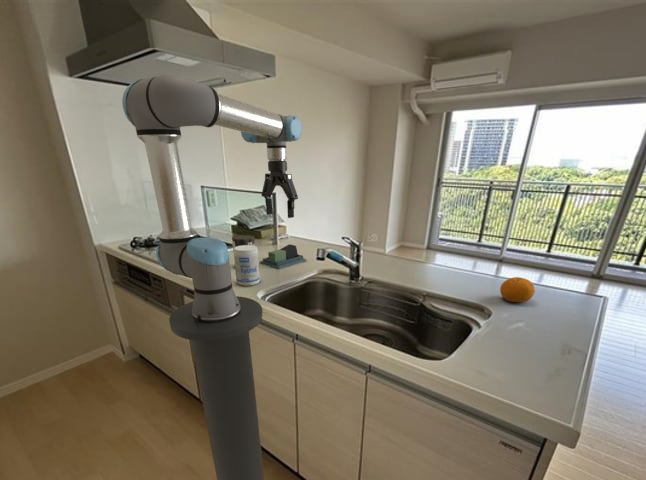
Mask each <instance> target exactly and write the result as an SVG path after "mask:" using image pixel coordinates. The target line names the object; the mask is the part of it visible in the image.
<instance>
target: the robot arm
mask: <svg viewBox="0 0 646 480" xmlns="http://www.w3.org/2000/svg"><path fill="white" fill-rule="evenodd" d="M121 104H122V109H123V112H124V115H125V117H126V119H127V120H128V121H129V122H130V123H131V125H132V126H133V127H135V128H134V129H135V132H136V136H137V138H138V139H139V140H140V141H142V142H143V144H144V147H145V151H146V156H147V160H148V165H149V170H150V175H151V179H152V185H153V189H154V195H155V198H156V203H157V209H158V212H159V217H160V222H161V227H162V231H161V232H160V233H159V235H158V239H159V242H158V245H157V246H156V249H155V253H156V254H155V256H156V259H157V261H158V263H159V265H160V266H161V267H162V268H163V269H164V270H165V271H167V272H169V273H171V274H174V275H175V276H182V277H185V278H187V279H188V278H189V279H191V280H192V285H193V291H194V296H193V301H192V302H193V306H192V315H193V318H194V319H195V322H196V323H197V322H198V321H200V322H206V323H214V322H222V321H226V320H229V319H232V318H234V317H236V316H237V315H238V314H239V313H240V312H241V307H240V303H239V301H238V299H237V297H236V296H237V294H236V293H235V291H234V288H233V280H232V271H231V262H230V254H229V250H228V246H227V244H226V243H225V241H223V240H221V239H218V238H214V237H199V234H198V231H197V230H195V229H194V228H193V227H192V221H191V217H190V216H191V215H190V211H189V210H190V209H189V205H188V204H189V203H188V199H187V192H186V187H185V182H184V175H183V169H182V164H181V159H180V152H179V147H178V146H179V145H178V142H179V141H180V140H181V139H182V132H181V128H182V127H183V128H184V127H195V126H196V127H205V128H212V127H214V126H218V127H222V128H225V129H230V130H234V131H238V132H240V134H241V137H242V139H243V140H244V141H245V142H246V143H251V144H266V156H267V160H268V161H267V169H268V172H269V173H267V172H266V173H265V174H264V182H263V186H262V191H261V197H263V198H264V201H265V207H266V209H265V210H266V215H267V216H268V215H273V214H274V213H273V198H272V195H273V193H274V191H275V189H276V187H280V188H281V189H282V190H283V193H284V194H285V196H286V198H287V200H286V205H287V208H286V209H287V219H291V218H295V201H296V200H298V199H299V195H298V192H297V190H296V187H295V184H294V181H293V174H292V173H287V171H288V161H287V160H288V159H287V158H288V157H287V142H289V143H291V142H296V141H298V140H299V139H300V138H301V136H302V131H303V125H302V121H301V120H300V118H299V117H298V116H297V115H290V114H289V115H282V114H279V113H276V112H272V111H270V110H267V109H264V108H261V107H258V106H255V105H252V104H249V103H247V102H243V101H241V100H238V99H235V98H232V97H230V96H226V95H223V94H220V93H218V91H217V90H216V89H215V88H214V87H213V86H210V85H208V84H204V83H201V82H199V81H196V80H193V79H191V78H187V77H184V76H181V75H177V74H172V73H163V74H159V75H156V76H155V75H154V76H151V77H146V78H140V79H137V80H135V81H134V82H132V83H130V84H129V85H128V86H127V87H126V88H125V89H124V91H123V95H122V103H121Z"/></svg>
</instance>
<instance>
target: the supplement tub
mask: <svg viewBox="0 0 646 480" xmlns="http://www.w3.org/2000/svg"><path fill="white" fill-rule="evenodd" d="M258 251H259V249H258V247H257V246H256V245H255V246H253V245H242V246H237V247H235V248H234V251H233V259H235V260H234V270H235V279H236V284H238V285H240V286H245V287H246V286H248V287H249V286H254V285H257V284H259V282H260V280H261V278H260V276H261V275H260V263H259V252H258Z"/></svg>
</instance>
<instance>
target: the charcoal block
mask: <svg viewBox="0 0 646 480" xmlns="http://www.w3.org/2000/svg"><path fill="white" fill-rule="evenodd" d="M279 250H283V251H286V260H287V259H291V258H293V257H295V256H297V255H299V253H298V248H297V245H294V244H290V243H289V244H287V245H285V246H283V247H282V248H280V249H279Z"/></svg>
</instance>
